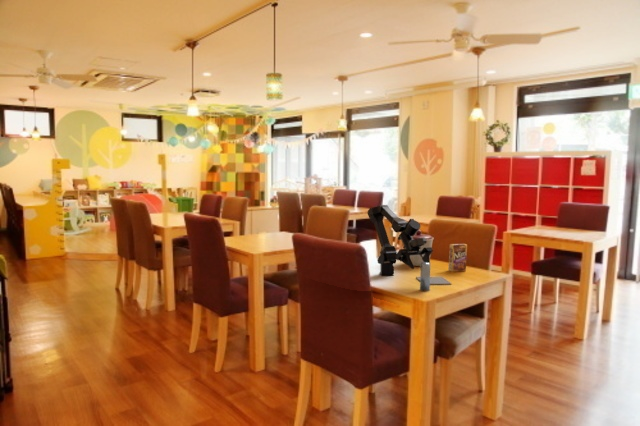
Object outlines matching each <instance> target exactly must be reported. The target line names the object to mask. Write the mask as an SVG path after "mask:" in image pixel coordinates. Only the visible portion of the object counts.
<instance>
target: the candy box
mask: <svg viewBox="0 0 640 426" xmlns="http://www.w3.org/2000/svg"><path fill="white" fill-rule="evenodd" d="M448 251H449V254H448V255H449V256H448V271H450V272H466V271H467V252H468V244H466V243H450V244H449V250H448Z"/></svg>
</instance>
